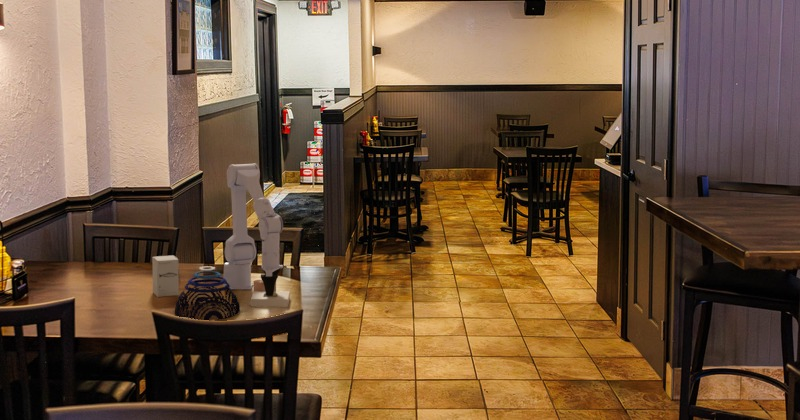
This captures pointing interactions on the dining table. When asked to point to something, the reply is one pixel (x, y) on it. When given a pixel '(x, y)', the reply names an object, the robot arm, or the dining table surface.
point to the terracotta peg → (258, 285)
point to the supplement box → (165, 276)
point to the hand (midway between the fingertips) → (270, 292)
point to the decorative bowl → (200, 299)
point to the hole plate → (270, 299)
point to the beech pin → (274, 292)
